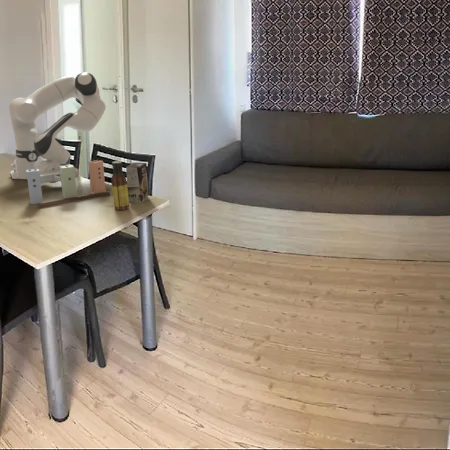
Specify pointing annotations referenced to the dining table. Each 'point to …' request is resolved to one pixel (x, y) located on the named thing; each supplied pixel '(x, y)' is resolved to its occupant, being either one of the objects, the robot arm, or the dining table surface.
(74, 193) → the tile one
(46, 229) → the dining table surface
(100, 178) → the tile three
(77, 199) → the tile rack
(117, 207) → the sauce bottle
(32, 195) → the tile two
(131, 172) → the coffee box
